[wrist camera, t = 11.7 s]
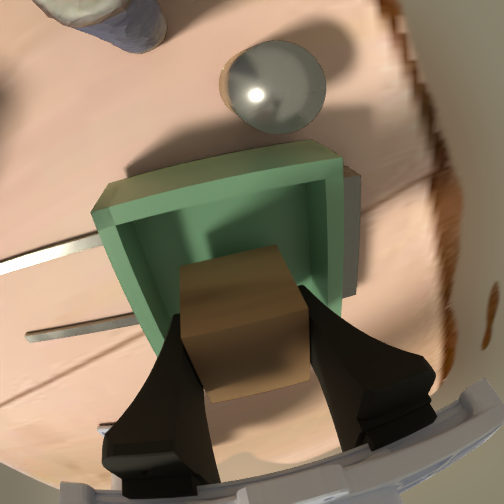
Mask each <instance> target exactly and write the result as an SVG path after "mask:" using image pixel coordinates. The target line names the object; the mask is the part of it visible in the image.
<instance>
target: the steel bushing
mask: <svg viewBox="0 0 504 504" xmlns="http://www.w3.org/2000/svg"><path fill="white" fill-rule="evenodd" d="M219 91H220V95H221V98H222V100H223V102H224V103H225V105H226V106H227V107H228V108H229V109H230V110H231V111H232V112H233V113H235V114H236V115H237V116H239V117H240V118H241V119H242V120H244V121H245V122H246V123H248V124H249V125H250V126H252V127H253V128H255V129H257V130H259V131H262V132H265V133H270V134H287V133H292V132H295V131H297V130H299V129H301V128H303V127H305V126H306V125H308V124H309V123H310V122H311V121H312V120H313V119H314V118H315V117H316V116H317V114H318V113H319V112H320V110H321V108H322V106H323V103H324V100H325V95H326V81H325V76H324V73H323V70H322V68H321V66H320V64H319V63H318V61H317V60H316V59H315V57H314V56H313V55H312V54H311V53H310V52H308V51H307V50H306V49H304V48H302V47H301V46H299V45H296V44H294V43H291V42H287V41H268V42H264V43H261V44H258V45H256V46H254V47H251V48H249V49H247V50H245V51H243V52H241V53H238V54H237V55H235V56H233V57H232V58H231V59H230V60H229V61H228V62H227V63H226V64H225V66H224V67H223V69H222V71H221V74H220V78H219Z"/></svg>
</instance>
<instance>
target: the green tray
mask: <svg viewBox="0 0 504 504" xmlns="http://www.w3.org/2000/svg"><path fill="white" fill-rule="evenodd" d="M91 215H92V218H93V220H94V223H95V226H96V228H97V231H98V233H99V236H100V238H101V241H102V243H103V246H104V248H105V250H106V253H107V255H108V257H109V260H110V262H111V264H112V267H113V269H114V271H115V273H116V276H117V278H118V280H119V282H120V285H121V287H122V289H123V291H124V293H125V295H126V297H127V299H128V302H129V304H130V306H131V308H132V310H133V312H134V314H135V316H136V318H137V320H138V322H139V324H140V326H141V328H142V329H143V331H144V333H145V335H146V337H147V339H148V341H149V343H150V345H151V346H152V348H153V350H154V352H155V354H156V356H157V357H158V356H159V353H160V351H161V348H162V346H163V343H164V341H165V338H166V335H167V332H168V329H169V326H170V323H171V320H172V317H173V315H174V314H179V313H180V271H179V266H183V265H187V264H192V263H196V262H200V261H205V260H209V259H213V258H218V257H222V256H227V255H231V254H235V253H240V252H244V251H248V250H253V249H257V248H262V247H266V246H270V245H275V244H276V245H277V247H278V249H279V251H280V253H281V255H282V257H283V259H284V261H285V263H286V265H287V267H288V269H289V271H290V273H291V275H292V277H293V279H294V281H295V283H296V284H297V286H299V285H304V286H306V288H307V289H309V290H310V291H311V292H312V293H313V294H314V295H315V296H316V297H317V298H318V299H319V300H320V301H321V302H322V303H324V304H325V305H326V306H327V307H328V308H330V309H331V310H332V311H333V312H334V313H336V314H337V315H338V316H340V317H341V307H342V287H343V258H344V182H343V157H341V156H340V155H338V154H336V153H335V152H333V151H331V150H330V149H328V148H326V147H324V146H323V145H321V144H319V143H317V142H316V141H314V140H312V139H311V140H304V141H297V142H291V143H284V144H278V145H272V146H266V147H261V148H255V149H250V150H244V151H239V152H234V153H229V154H224V155H219V156H214V157H210V158H205V159H201V160H196V161H192V162H188V163H183V164H179V165H175V166H171V167H167V168H163V169H159V170H155V171H151V172H148V173H144V174H140V175H136V176H133V177H129V178H126V179H122V180H119V181H115V182H112V183H109V184H108V185H107V187H106V189H105V190H104V192H103V193H102V195H101V196H100V198H99V200H98V201H97V203H96V204H95V206H94V208H93V209H92V211H91Z"/></svg>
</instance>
